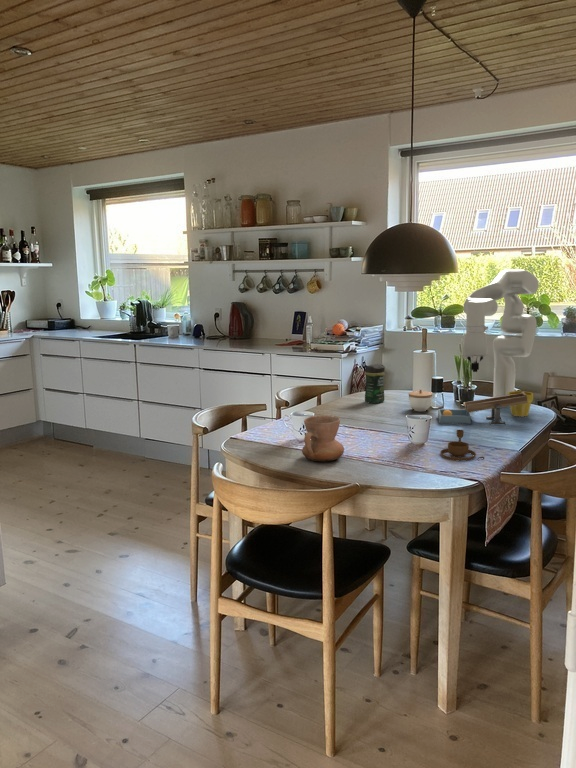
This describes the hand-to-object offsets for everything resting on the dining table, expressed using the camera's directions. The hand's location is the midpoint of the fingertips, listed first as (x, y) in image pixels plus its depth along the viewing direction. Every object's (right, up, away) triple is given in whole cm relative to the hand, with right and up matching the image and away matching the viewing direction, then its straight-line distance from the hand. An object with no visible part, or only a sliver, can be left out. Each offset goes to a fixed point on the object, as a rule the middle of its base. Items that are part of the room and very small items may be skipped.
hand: (474, 371), depth 272 cm
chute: (+6, -14, -7) cm, 17 cm away
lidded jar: (-21, -18, +15) cm, 31 cm away
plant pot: (+20, -19, 0) cm, 27 cm away
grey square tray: (-11, -21, -7) cm, 25 cm away
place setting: (-20, -31, -53) cm, 64 cm away
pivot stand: (+6, -21, -10) cm, 24 cm away
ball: (-14, -18, -7) cm, 24 cm away
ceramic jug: (-70, -32, -55) cm, 94 cm away
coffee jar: (-39, -14, +34) cm, 53 cm away
